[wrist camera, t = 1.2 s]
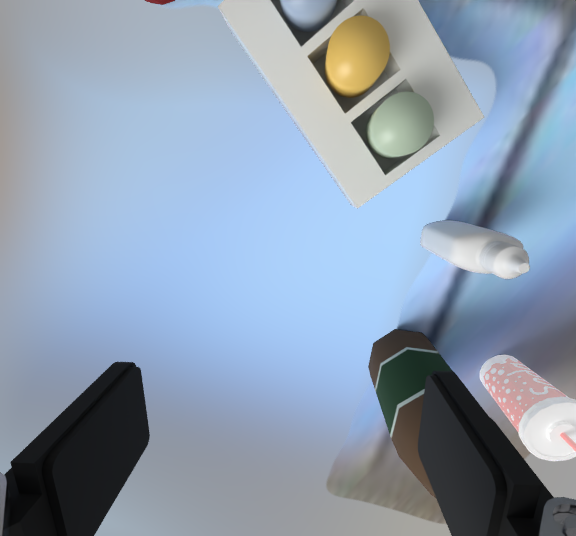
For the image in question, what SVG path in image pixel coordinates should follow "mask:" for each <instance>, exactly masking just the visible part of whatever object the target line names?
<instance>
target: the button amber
mask: <svg viewBox="0 0 576 536" xmlns="http://www.w3.org/2000/svg"><path fill="white" fill-rule="evenodd" d="M389 54H390V42H389V38H388V35H387V32H386V31H385V29H384V27H383V26H382V25H381V24H380V23H379V22H378V21H377V20H375V19H373V18H371V17H368V16H361V15H360V16H354V17H351V18H348V19H346V20H345V21H343V22H342V23H341V24H340V25H339V26H338V27H337V28H336V29H335V30H334V32H333V34H332V36H331V38H330V41H329V44H328V49H327V55H326V61H325V77H326V80H327V83H328V84H329V86H330V88H331V89H332V90H333V91H334V92H335V93H337V94H338V95H340V96H343V97H347V98H353V97H358V96H360V95H362V94H364V93H366V92H367V91H368V90H369V89H370V88H371V87H372V86H373V84H374V83H375V81H376V80H377V79H378V77H379V76H380V74H381V73H382V72H383V70H384V68H385V67H386V64H387V62H388V59H389Z"/></svg>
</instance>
